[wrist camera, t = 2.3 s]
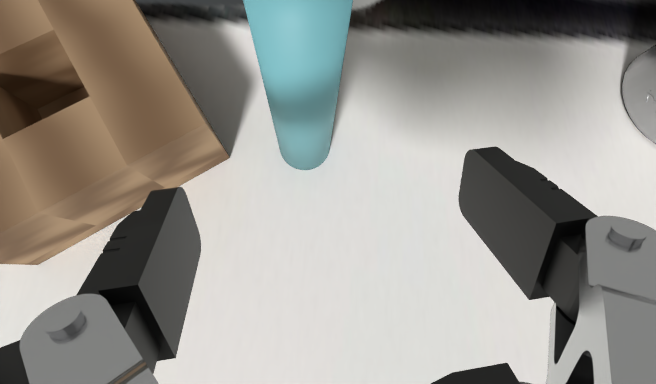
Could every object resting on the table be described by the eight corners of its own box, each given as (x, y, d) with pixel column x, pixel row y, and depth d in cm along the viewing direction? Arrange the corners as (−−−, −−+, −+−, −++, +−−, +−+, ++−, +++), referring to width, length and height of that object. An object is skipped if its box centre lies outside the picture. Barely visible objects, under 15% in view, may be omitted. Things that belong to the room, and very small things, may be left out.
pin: (312, 114, 26) (316, -83, 12) (339, 154, 26) (377, -2, 11) (270, 138, 26) (218, -39, 11) (296, 179, 25) (277, 49, 11)
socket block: (141, 10, 28) (95, -61, 22) (230, 157, 25) (205, 123, 19) (-42, 94, 25) (-147, 41, 19) (37, 265, 23) (-55, 262, 17)
